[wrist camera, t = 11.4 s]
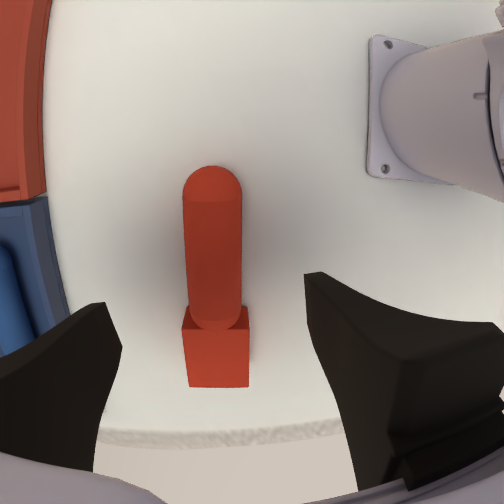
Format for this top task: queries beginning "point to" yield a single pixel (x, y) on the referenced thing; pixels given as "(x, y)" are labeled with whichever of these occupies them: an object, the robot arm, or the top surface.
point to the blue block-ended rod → (12, 308)
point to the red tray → (22, 97)
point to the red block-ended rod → (214, 281)
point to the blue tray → (34, 261)
